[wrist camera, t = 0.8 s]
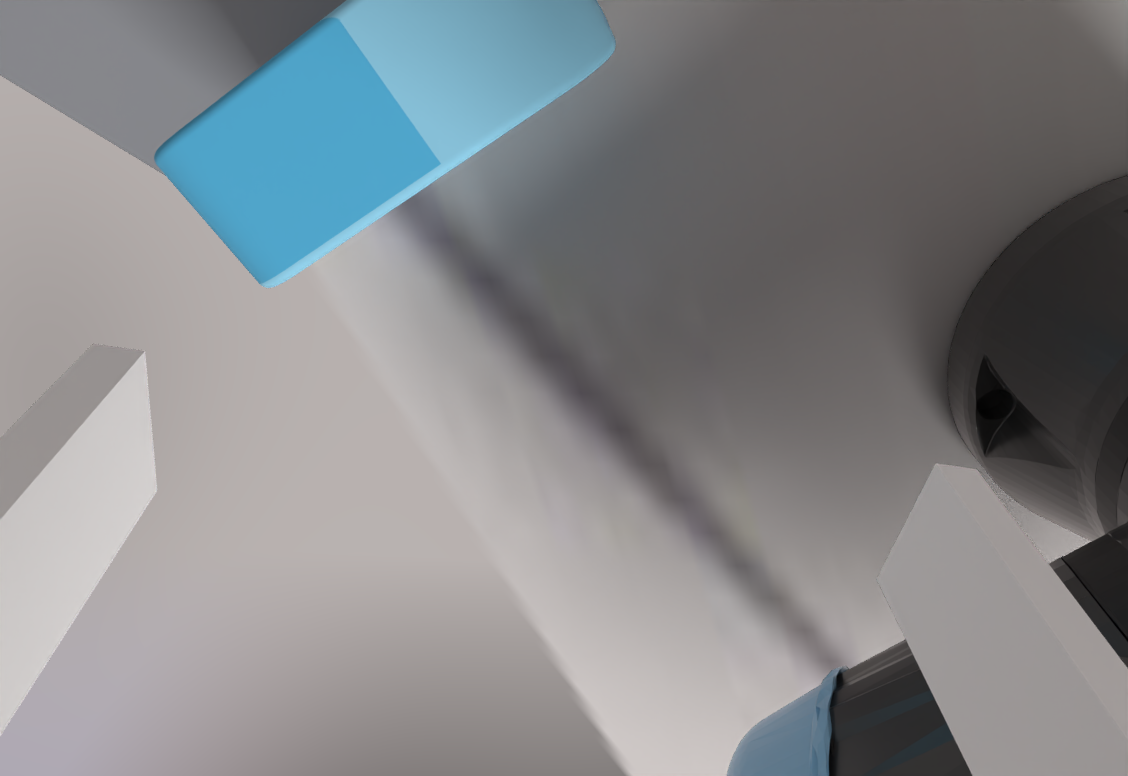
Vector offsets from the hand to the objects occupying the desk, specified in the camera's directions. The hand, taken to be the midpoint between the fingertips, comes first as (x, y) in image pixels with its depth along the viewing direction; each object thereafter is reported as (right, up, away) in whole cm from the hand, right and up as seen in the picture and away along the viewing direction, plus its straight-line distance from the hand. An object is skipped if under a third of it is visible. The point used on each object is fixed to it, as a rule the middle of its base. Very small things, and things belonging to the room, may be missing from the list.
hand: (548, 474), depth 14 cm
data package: (-4, +14, +17) cm, 23 cm away
